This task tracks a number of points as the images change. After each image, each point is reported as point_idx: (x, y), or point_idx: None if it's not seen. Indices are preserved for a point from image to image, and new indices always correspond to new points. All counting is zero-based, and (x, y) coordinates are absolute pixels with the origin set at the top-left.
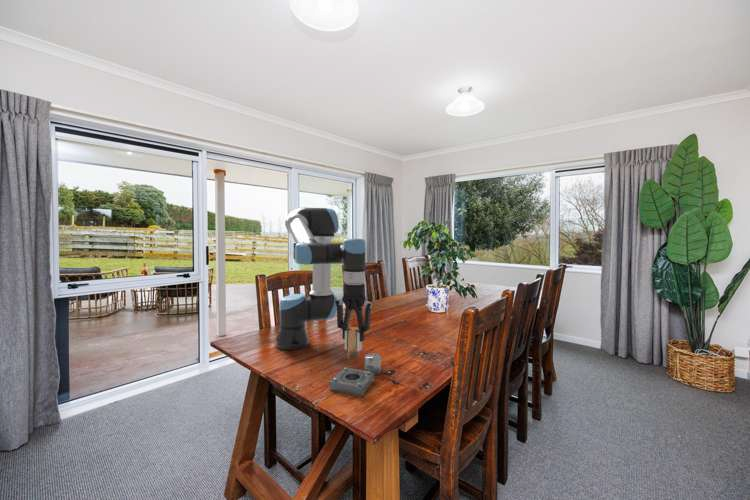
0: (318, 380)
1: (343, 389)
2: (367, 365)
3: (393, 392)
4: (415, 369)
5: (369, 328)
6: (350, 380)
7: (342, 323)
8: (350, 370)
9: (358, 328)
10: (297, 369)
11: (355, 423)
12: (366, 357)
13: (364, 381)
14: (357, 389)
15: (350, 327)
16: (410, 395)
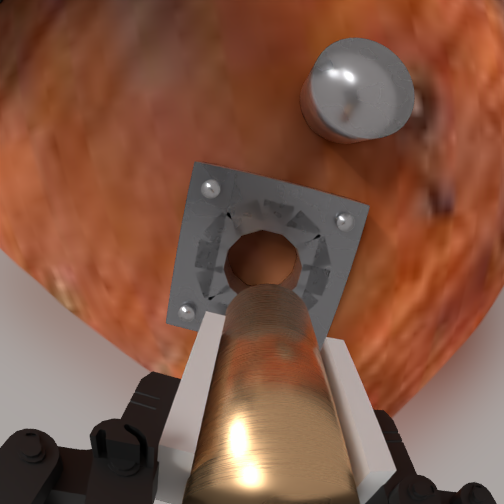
0: (106, 231)
1: None
2: (328, 131)
3: (425, 285)
4: (498, 90)
5: (481, 499)
6: None
7: (42, 489)
8: (238, 197)
9: (350, 501)
10: (14, 156)
11: None
12: (328, 105)
13: (326, 305)
14: None
15: (204, 489)
16: (470, 294)
